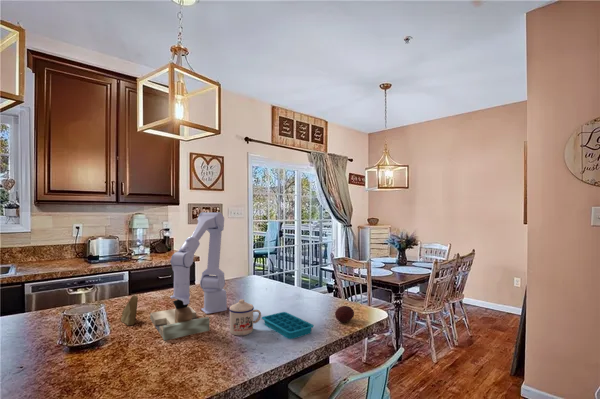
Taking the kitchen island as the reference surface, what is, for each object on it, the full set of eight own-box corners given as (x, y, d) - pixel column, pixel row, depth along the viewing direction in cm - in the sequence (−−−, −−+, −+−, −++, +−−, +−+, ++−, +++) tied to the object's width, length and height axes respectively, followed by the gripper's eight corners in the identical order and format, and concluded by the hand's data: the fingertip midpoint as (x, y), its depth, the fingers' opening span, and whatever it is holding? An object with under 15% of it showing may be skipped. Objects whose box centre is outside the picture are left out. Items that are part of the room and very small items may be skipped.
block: (188, 319, 124) (188, 306, 123) (191, 324, 120) (192, 311, 119) (174, 322, 121) (175, 309, 121) (177, 327, 117) (178, 314, 117)
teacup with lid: (231, 337, 114) (231, 304, 114) (227, 328, 122) (227, 298, 123) (264, 332, 119) (264, 300, 119) (257, 324, 127) (257, 294, 127)
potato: (357, 320, 131) (357, 305, 131) (345, 326, 124) (345, 311, 124) (342, 316, 136) (342, 302, 136) (329, 322, 129) (329, 307, 129)
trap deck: (189, 311, 142) (189, 301, 142) (209, 330, 121) (209, 318, 121) (150, 319, 133) (150, 308, 133) (164, 340, 112) (164, 327, 112)
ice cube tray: (289, 342, 111) (289, 333, 111) (260, 324, 127) (260, 317, 127) (315, 334, 118) (315, 325, 118) (284, 318, 134) (284, 311, 134)
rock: (140, 319, 126) (149, 308, 136) (125, 303, 124) (135, 293, 134) (118, 336, 125) (128, 324, 135) (102, 320, 124) (114, 309, 134)
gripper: (166, 281, 127) (165, 315, 127) (175, 288, 115) (175, 326, 115) (184, 278, 131) (184, 312, 131) (195, 285, 119) (194, 322, 119)
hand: (181, 318), depth 123 cm, fingers closed, pressing on block
